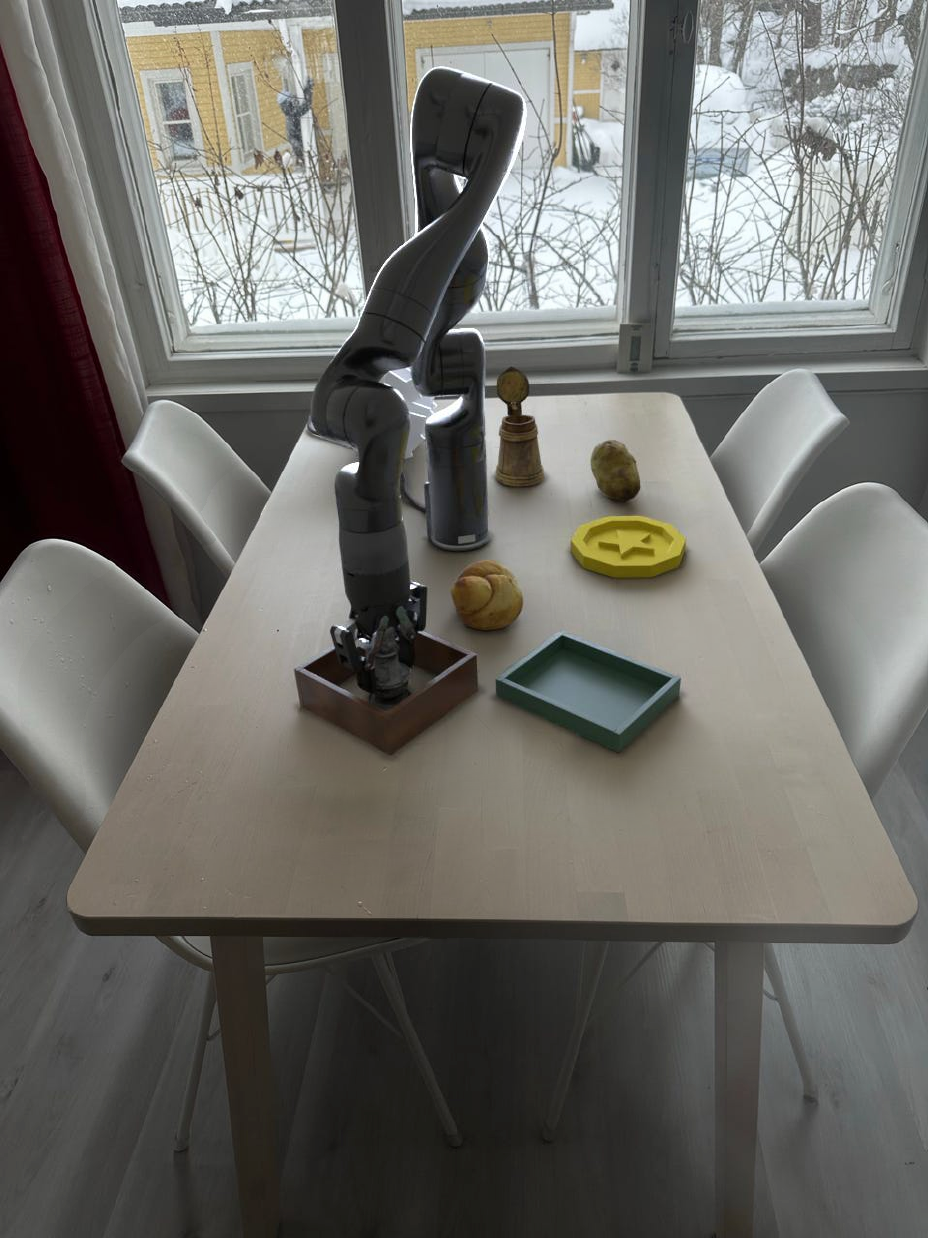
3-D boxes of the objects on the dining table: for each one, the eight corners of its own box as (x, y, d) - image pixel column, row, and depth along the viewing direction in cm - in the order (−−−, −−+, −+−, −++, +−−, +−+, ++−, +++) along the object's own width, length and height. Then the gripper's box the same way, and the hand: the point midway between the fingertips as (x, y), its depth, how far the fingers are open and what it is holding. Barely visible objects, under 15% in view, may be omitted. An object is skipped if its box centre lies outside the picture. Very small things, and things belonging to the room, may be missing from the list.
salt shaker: (406, 714, 111) (398, 630, 105) (359, 710, 112) (348, 626, 106) (418, 686, 116) (411, 604, 109) (373, 682, 117) (363, 600, 111)
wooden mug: (535, 457, 178) (535, 364, 169) (548, 484, 167) (548, 386, 157) (489, 460, 178) (487, 367, 168) (499, 488, 166) (496, 390, 157)
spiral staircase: (364, 488, 179) (382, 435, 199) (443, 451, 173) (454, 400, 194) (312, 408, 170) (337, 361, 191) (394, 365, 164) (411, 322, 185)
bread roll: (455, 589, 136) (453, 541, 132) (522, 588, 135) (521, 539, 131) (451, 637, 125) (448, 586, 121) (523, 636, 124) (523, 584, 120)
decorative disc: (608, 517, 154) (608, 506, 153) (704, 545, 144) (705, 534, 143) (550, 556, 143) (550, 545, 142) (650, 589, 134) (650, 577, 133)
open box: (299, 705, 113) (293, 668, 111) (388, 648, 123) (385, 613, 120) (390, 756, 105) (386, 717, 102) (478, 690, 114) (477, 653, 112)
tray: (495, 696, 113) (495, 679, 112) (560, 646, 122) (560, 630, 121) (618, 753, 103) (619, 734, 102) (679, 695, 112) (681, 677, 111)
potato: (591, 506, 158) (593, 462, 154) (588, 476, 169) (590, 434, 165) (640, 506, 157) (643, 462, 153) (634, 476, 168) (637, 434, 164)
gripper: (395, 524, 110) (405, 642, 119) (303, 571, 101) (322, 695, 110) (442, 540, 106) (449, 662, 115) (351, 591, 97) (367, 719, 106)
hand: (387, 677), depth 112 cm, fingers closed on salt shaker, 6 cm apart
